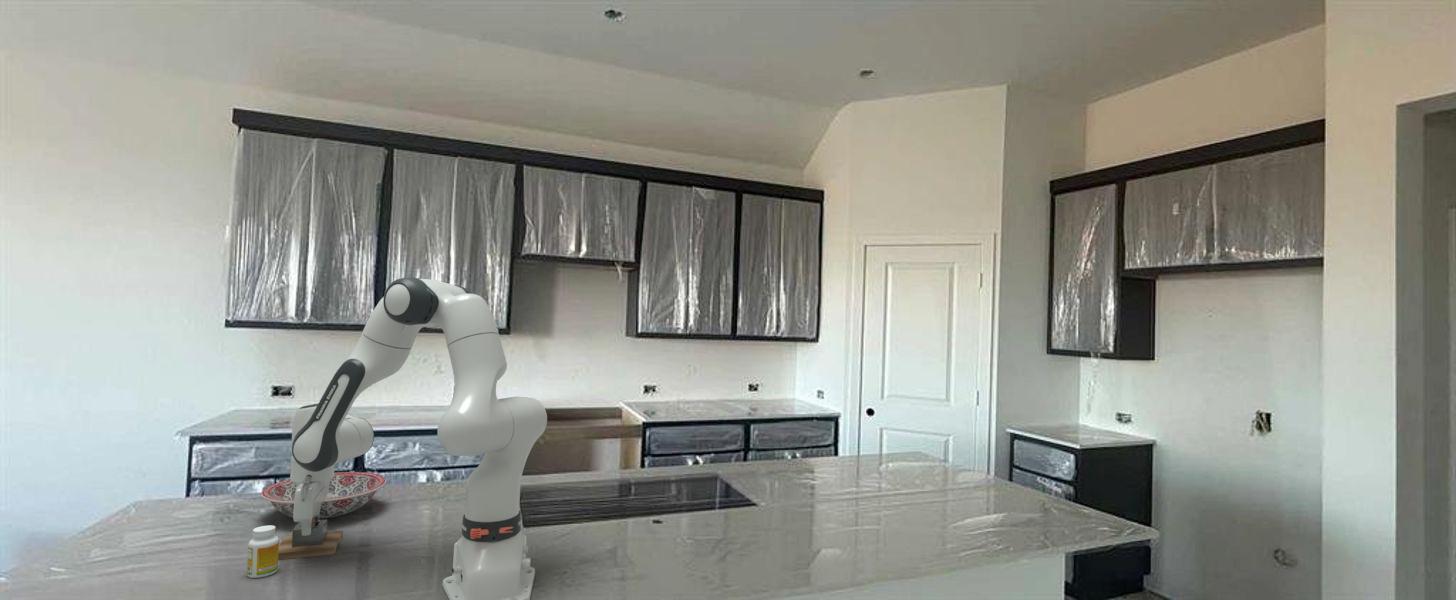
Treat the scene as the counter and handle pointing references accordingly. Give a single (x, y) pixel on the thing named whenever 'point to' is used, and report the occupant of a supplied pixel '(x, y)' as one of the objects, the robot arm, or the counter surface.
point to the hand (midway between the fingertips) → (310, 528)
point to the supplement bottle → (263, 552)
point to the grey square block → (314, 538)
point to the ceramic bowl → (329, 493)
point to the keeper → (315, 550)
